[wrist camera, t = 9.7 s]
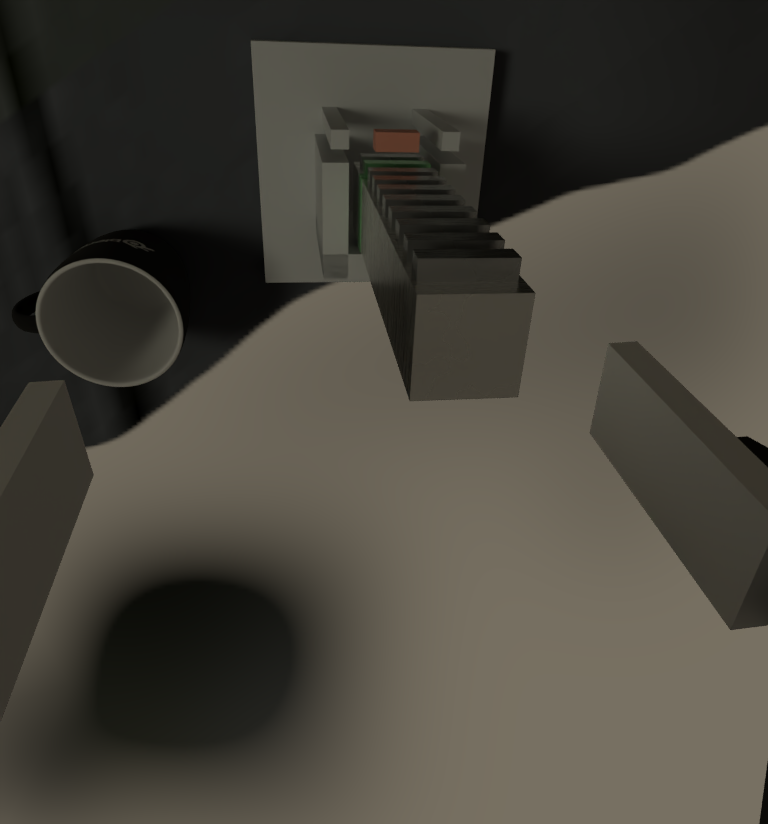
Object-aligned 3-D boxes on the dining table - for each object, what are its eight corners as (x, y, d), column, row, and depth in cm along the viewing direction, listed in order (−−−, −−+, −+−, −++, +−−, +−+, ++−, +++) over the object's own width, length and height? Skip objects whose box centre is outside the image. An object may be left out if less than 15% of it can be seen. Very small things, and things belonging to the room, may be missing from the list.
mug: (185, 206, 48) (163, 249, 39) (212, 318, 52) (198, 378, 44) (17, 226, 47) (-42, 274, 38) (60, 338, 52) (16, 403, 43)
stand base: (252, 39, 43) (242, 48, 32) (487, 48, 45) (551, 59, 34) (266, 273, 51) (262, 342, 40) (463, 271, 53) (509, 336, 42)
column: (353, 147, 39) (416, 270, 21) (419, 148, 40) (540, 269, 21) (351, 228, 42) (408, 402, 23) (414, 227, 42) (519, 398, 24)
